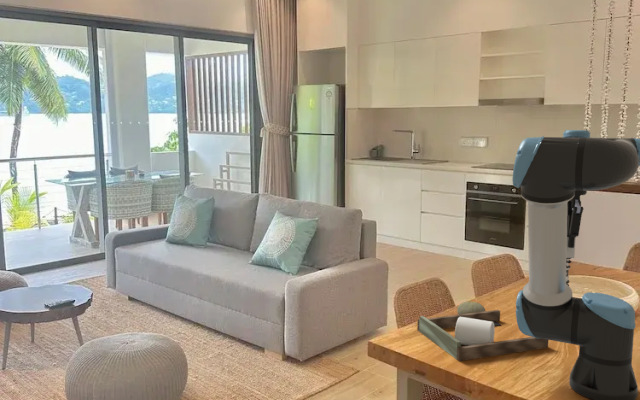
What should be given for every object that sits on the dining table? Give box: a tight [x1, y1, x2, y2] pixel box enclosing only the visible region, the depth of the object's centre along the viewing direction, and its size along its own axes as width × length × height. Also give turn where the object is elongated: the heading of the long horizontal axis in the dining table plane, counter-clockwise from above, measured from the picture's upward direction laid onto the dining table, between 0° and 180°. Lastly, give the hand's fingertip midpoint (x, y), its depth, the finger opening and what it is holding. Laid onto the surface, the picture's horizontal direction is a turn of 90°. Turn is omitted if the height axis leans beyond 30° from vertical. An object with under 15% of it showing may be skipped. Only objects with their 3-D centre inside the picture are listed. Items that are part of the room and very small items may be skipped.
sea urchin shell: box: [456, 301, 486, 315], centre depth 191 cm, size 9×8×8 cm
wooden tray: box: [416, 309, 549, 362], centre depth 172 cm, size 30×24×5 cm
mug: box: [454, 317, 496, 346], centre depth 168 cm, size 12×10×8 cm
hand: (568, 257), depth 173 cm, fingers closed
